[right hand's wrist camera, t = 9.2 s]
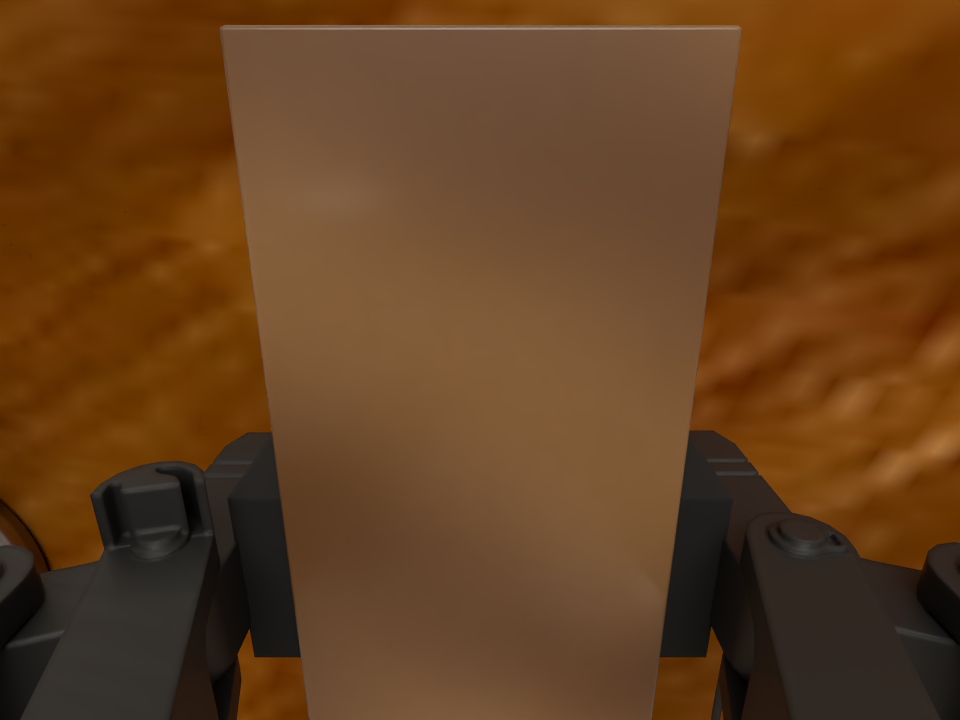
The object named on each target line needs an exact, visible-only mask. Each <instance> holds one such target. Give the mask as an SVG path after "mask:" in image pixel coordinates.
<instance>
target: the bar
mask: <svg viewBox="0 0 960 720" xmlns="http://www.w3.org/2000/svg"><path fill="white" fill-rule="evenodd" d="M741 32H742V30H741V27H740V26H738V25H224V26H222V27H220V36H221V44H222V51H223V59H224V67H225V74H226V82H227V90H228V98H229V105H230V113H231V121H232V129H233V136H234V144H235V152H236V159H237V167H238V175H239V183H240V190H241V198H242V206H243V214H244V221H245V229H246V237H247V244H248V252H249V260H250V268H251V275H252V283H253V291H254V299H255V306H256V314H257V322H258V329H259V337H260V345H261V353H262V360H263V368H264V376H265V384H266V391H267V399H268V407H269V414H270V422H271V430H272V438H273V445H274V453H275V461H276V469H277V476H278V484H279V492H280V499H281V507H282V515H283V523H284V530H285V538H286V546H287V554H288V561H289V569H290V577H291V584H292V592H293V600H294V608H295V615H296V623H297V631H298V639H299V646H300V654H301V662H302V669H303V677H304V685H305V693H306V700H307V708H308V716H309V720H651V719H652V711H653V704H654V696H655V688H656V681H657V673H658V666H659V658H660V650H661V643H662V635H663V627H664V620H665V612H666V604H667V597H668V589H669V582H670V574H671V566H672V559H673V551H674V543H675V536H676V528H677V521H678V513H679V505H680V498H681V490H682V482H683V475H684V467H685V459H686V452H687V444H688V437H689V429H690V421H691V414H692V406H693V398H694V391H695V383H696V375H697V368H698V360H699V353H700V345H701V337H702V330H703V322H704V314H705V307H706V299H707V292H708V284H709V276H710V269H711V261H712V253H713V246H714V238H715V230H716V223H717V215H718V208H719V200H720V192H721V185H722V177H723V169H724V162H725V154H726V146H727V139H728V131H729V124H730V116H731V108H732V101H733V93H734V85H735V78H736V70H737V63H738V55H739V47H740V40H741Z"/></svg>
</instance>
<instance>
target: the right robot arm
mask: <svg viewBox="0 0 960 720" xmlns="http://www.w3.org/2000/svg"><path fill="white" fill-rule="evenodd" d="M90 497H91V500H92V504H93V508H94V512H95V515H96V519H97V523H98V527H99V530H100V534H101V538H102V542H103V545H104V549H105V550H104V552H103V554H102V556H101V558H100V560H99V561H96V562H92V563H88V564H84V565H79V566H74V567H68V568H63V569H58V570H53V571H48V569H47V566H46V563H45V560H44V558H43V556H42V554H41V552H40V550H39V548H38V546H37V545H36V543H35V541H34V540H33V538H32V537H31V535H30V534H29V532H28V531H27V530H26V528H25V527H24V526H23V524H22V523H21V522H20V521H19V520H18V519H17V517H16V516H15V515H14V514H13V513H12V512H11V511H10V510H9V509H8V508H7V507H6V506H5V505H4V504H3V503H2V502H0V720H237V712H238V704H239V696H240V688H241V673H240V666H239V661H238V655H237V654H238V652H239V650H240V647H241V645H242V643H243V641H244V639H245V637H246V635H247V632H248V630H249V628H250V633H251V639H252V645H253V651H254V656H255V657H301V654H300V646H299V639H298V631H297V623H296V615H295V608H294V600H293V592H292V584H291V577H290V569H289V561H288V554H287V546H286V538H285V530H284V523H283V515H282V507H281V499H280V492H279V484H278V476H277V469H276V461H275V453H274V445H273V438H272V433H247V434H245V435H243V436H242V437H240V438H238V439H237V440H235V441H233V442H232V443H230V444H228V445H227V446H226V447H225V448H224V449H223V450H222V451H221V453H220V454H219V455H218V456H217V458H216V459H215V460H214V461H213V465H210V466H209V467H208V469H207V470H206V471H205V472H203V470H201V469H200V468H199V467H197V466H196V465H195V464H190V463H186V462H181V461H170V462H157V463H152V464H147V465H142V466H138V467H135V468H132V469H129V470H127V471H124V472H121V473H119V474H117V475H115V476H113V477H112V478H110V479H108V480H106V481H105V482H103V483H101V484H100V485H99V486H98V487H97V488H96V489H95V490H94V491H93V492H92V493H91V494H90ZM711 626H712V628H713V630H714V632H715V635H716V637H717V639H718V641H719V643H720V645H721V647H722V649H723V655H722V661H721V666H720V672H719V677H718V682H717V688H716V693H715V698H714V704H713V710H712V717H711V720H720V716H721V711H722V710H723V718H724V720H960V543H955V542H953V543H945V544H938V545H936V546H935V547H933V548H932V549H931V550H929V551H928V553H927V556H926V559H925V563H924V566H923V569H922V571H921V570H916V569H911V568H906V567H901V566H896V565H891V564H886V563H881V562H875V561H871V560H867V559H863V558H860V557H859V555H858V553H857V551H856V549H855V548H854V546H853V545H852V544H851V543H850V541H849V540H848V539H847V538H846V536H844V535H843V534H841V533H840V532H838V531H837V530H835V529H834V528H832V527H831V526H830V525H827V524H825V523H823V522H820V521H818V520H816V519H813V518H811V517H808V516H804V515H799V514H795V513H792V512H791V511H790V510H789V509H788V508H787V506H786V505H785V504H784V503H783V502H782V500H781V499H780V498H779V497H778V496H777V494H776V493H775V492H774V491H773V489H772V488H771V487H770V486H769V485H768V483H767V482H766V481H765V480H764V479H763V477H762V476H759V475H758V471H757V470H756V469H755V468H754V466H753V465H752V464H751V463H750V462H748V459H747V458H746V457H745V456H744V454H743V453H742V452H741V451H740V449H739V448H738V447H737V446H736V445H735V444H734V443H733V442H731V441H729V440H728V439H726V438H724V437H723V436H721V435H719V434H718V433H716V432H714V431H689V437H688V444H687V452H686V459H685V467H684V475H683V482H682V490H681V498H680V505H679V513H678V521H677V528H676V536H675V543H674V551H673V559H672V566H671V574H670V582H669V589H668V597H667V604H666V612H665V620H664V627H663V635H662V643H661V650H660V657H706V654H707V648H708V642H709V636H710V631H711Z"/></svg>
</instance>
